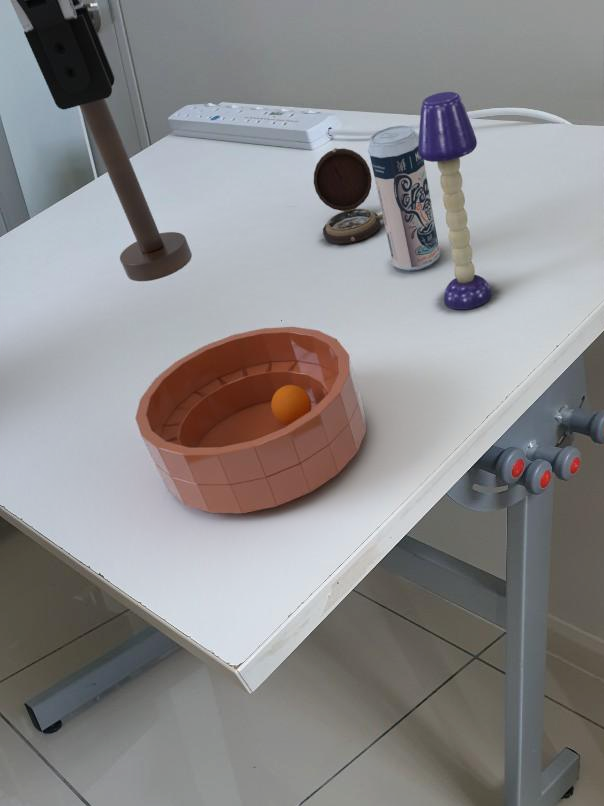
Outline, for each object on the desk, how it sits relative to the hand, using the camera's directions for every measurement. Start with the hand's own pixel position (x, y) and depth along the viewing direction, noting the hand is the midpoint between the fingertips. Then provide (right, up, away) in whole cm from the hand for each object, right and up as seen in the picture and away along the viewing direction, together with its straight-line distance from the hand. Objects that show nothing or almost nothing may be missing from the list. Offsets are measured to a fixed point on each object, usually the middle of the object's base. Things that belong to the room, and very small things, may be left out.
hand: (87, 94), depth 50 cm
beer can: (+19, +1, +35) cm, 40 cm away
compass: (+14, +8, +43) cm, 46 cm away
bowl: (+8, -19, +16) cm, 26 cm away
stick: (+2, -8, +7) cm, 11 cm away
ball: (+10, -15, +16) cm, 24 cm away
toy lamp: (+24, -4, +28) cm, 37 cm away
